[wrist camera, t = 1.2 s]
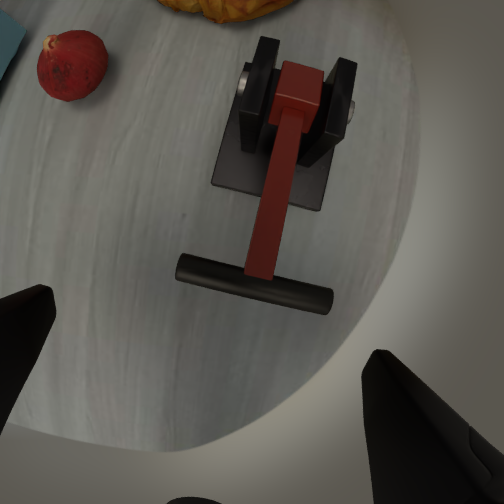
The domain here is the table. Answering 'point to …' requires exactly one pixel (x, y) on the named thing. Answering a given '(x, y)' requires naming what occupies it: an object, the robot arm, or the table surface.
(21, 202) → the table surface
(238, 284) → the lever
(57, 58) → the onion
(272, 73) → the bracket
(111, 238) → the table surface
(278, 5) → the croissant
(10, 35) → the teapot
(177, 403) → the table surface
